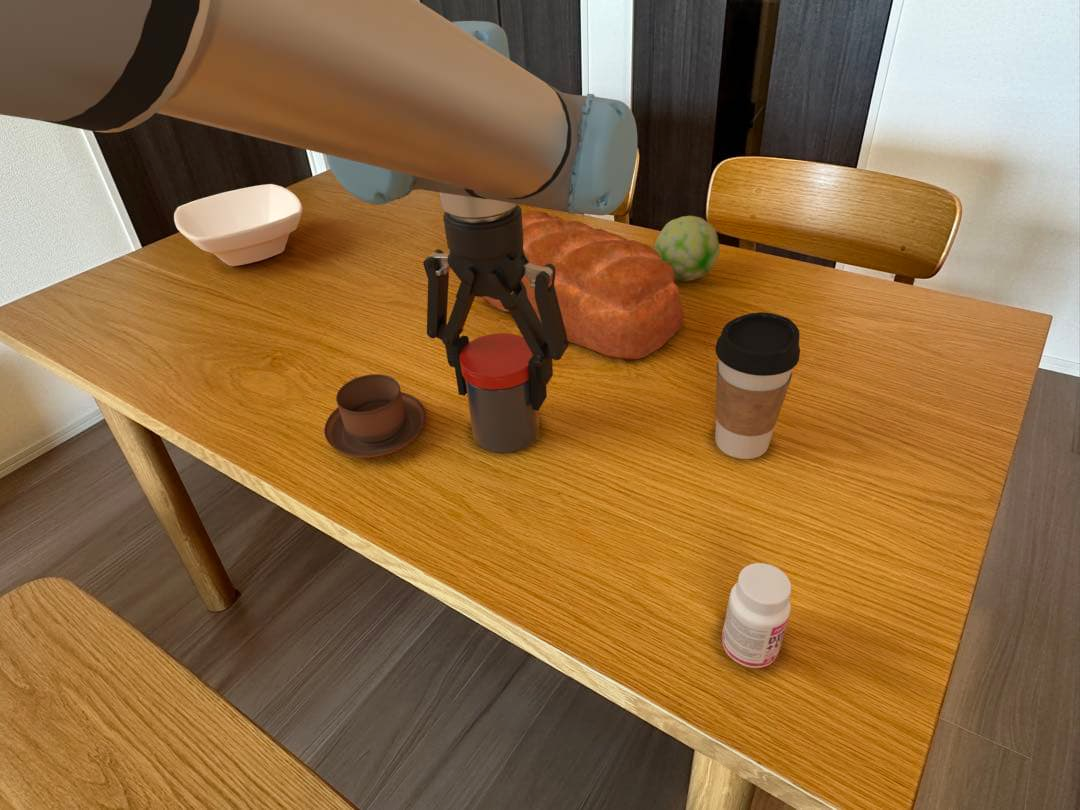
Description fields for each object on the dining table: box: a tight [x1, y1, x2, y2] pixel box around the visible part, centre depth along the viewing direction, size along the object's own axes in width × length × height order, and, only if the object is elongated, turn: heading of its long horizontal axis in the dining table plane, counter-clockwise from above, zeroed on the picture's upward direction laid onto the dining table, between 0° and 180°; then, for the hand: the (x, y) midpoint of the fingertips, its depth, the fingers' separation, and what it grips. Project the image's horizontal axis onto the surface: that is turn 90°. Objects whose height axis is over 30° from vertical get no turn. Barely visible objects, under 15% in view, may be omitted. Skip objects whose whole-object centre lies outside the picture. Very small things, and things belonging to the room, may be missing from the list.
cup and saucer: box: [323, 373, 427, 459], centre depth 82 cm, size 12×12×6 cm
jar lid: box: [459, 332, 533, 390], centre depth 77 cm, size 9×8×2 cm
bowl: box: [173, 183, 304, 267], centre depth 123 cm, size 21×21×9 cm
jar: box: [465, 379, 540, 454], centre depth 80 cm, size 8×8×10 cm
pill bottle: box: [721, 562, 792, 669], centre depth 57 cm, size 5×5×8 cm
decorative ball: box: [654, 215, 721, 283], centre depth 108 cm, size 10×10×10 cm
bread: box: [481, 210, 684, 361], centre depth 100 cm, size 16×31×13 cm, turn 47°
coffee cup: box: [714, 311, 801, 460], centre depth 75 cm, size 8×8×15 cm
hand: (502, 395), depth 80 cm, fingers closed on jar lid, 8 cm apart
